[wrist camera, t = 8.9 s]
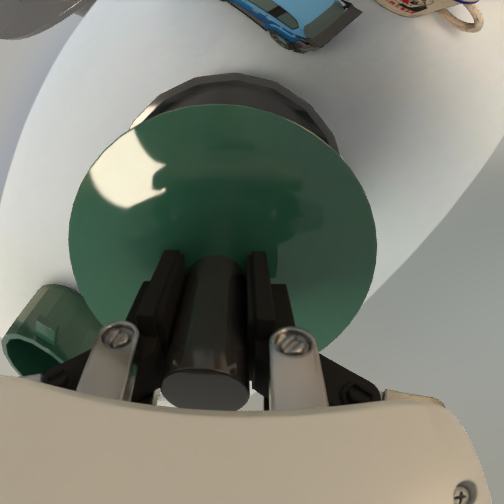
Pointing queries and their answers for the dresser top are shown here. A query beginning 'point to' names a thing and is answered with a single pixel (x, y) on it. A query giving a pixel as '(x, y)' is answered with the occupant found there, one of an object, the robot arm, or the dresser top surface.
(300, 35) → the toy car
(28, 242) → the dresser top surface
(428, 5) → the teacup with lid
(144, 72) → the dresser top surface
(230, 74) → the pan
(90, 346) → the pot
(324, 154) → the lid
